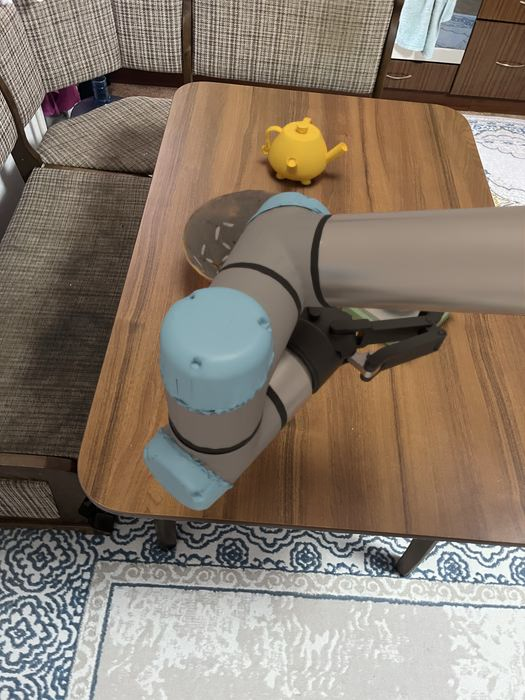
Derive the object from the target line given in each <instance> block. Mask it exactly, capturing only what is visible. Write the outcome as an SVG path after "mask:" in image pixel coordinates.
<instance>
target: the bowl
mask: <svg viewBox="0 0 525 700" xmlns="http://www.w3.org/2000/svg"><path fill="white" fill-rule="evenodd" d="M280 193H281V192H277V191H271V190H264V189H245V190H244V189H243V190H239V191H235V192H234V191H232V192H229V193H225V194H224V193H223V194H221V195H218V196H215V197H213V198H211V199H210V200H208V201H206V202H204V203H203V204H202V205H200V206H199V207H198V208H196V209H195V210H194V211H193V212H192V213H191V214H190V216H189V217H188V219H187V220H186V222H185V223H184V228H183V232H182V237H181V243H182V244H181V247H182V250H183V252H184V255H185V258H186V261H187V262H188V263H189V265H190V266H191V267H192V268H193V269H194V271H196V272H197V274H199V275H200V276H201V277H202V278H203V279H205V280H206V281H207V282H209V283H210V284H211V283H212V281H213V280H214V278H215V277H216V275H217V274H218V272H219V271H220V269H221V268H222V266H223V264H224V263H225V261H226V259H227V258H228V256H229V255H230V253H231V251H232V250H233V248H234V246H235V245H236V243H237V241H238V240H239V238H240V236H241V233H242V231H243V230H244V228H245V226H246V224H247V223H248V221H249V220H250V219H251V218H252V217H253V216H254V215H255V214H256V213H257V212H258V210H259V209H260V208H261V206H262V205H263V204H264V203H265V202H266V201H267V200H268V199H269V198H271V197H273V196H275V195H277V194H280Z"/></svg>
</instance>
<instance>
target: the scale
mask: <svg viewBox="0 0 525 700" xmlns="http://www.w3.org/2000/svg"><path fill="white" fill-rule="evenodd" d="M341 310H342V311H344V312H347V313H348V314H350V315H352V319H353V320H357V319H369V321H377V320H387V319H397V318H406V317H416V316H418V314H419V312H420V311H412V310H409V311H405V312H399V311H394V310H390V309H369V308H348V307H341ZM451 313H452V312H445V313H444V315H443V316H442V318H441V319H440V320H439V321H438V323H437V324H436V326H437V327H438V328H440V326H441V325H442V324H443V323H444V322H445V321H447V320H448V318H449V317H450V315H451ZM398 342H400V341H398ZM394 343H397V342H389V343H385V344H386V346H388V345H391V344H394Z"/></svg>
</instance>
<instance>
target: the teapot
mask: <svg viewBox="0 0 525 700" xmlns="http://www.w3.org/2000/svg"><path fill="white" fill-rule="evenodd" d="M271 132H276V133H277V135H276V136H275V137H274V139H273V141H272V142H271V138H270V135H271V134H270V133H271ZM347 151H348V146H347V144H346V143H345V142H343V141H341V142H340V143H338V144H337V145H336V146H334V147H333V148H332V149H330V150H329V151H328V148H327V144H326V141H325V139H324V137H323V134H322V132H321V131H320V129H319V128H318V127H317V126H315V125H314V124H313V120H312V118H310V117H307V116H305V117H304V118H303V120H300V121H299V120H298V121H293V122H289V123H287V124H286V125H285V126H284V127H281V126H279V125H270V126H269V127H268V128H267V129H266V131H265V144H263V145H262V146H261V153H262V154H263V155H265V156H268V161H269V164H270V166H271V167H272V169H273V170H274V171H275V172H276V174H275V176H276V178H277V179H278V180H284V179H288V180H291V181H297V182H299V181H300V183H301V184H302V185H306V186H308V185H310V184H312V182H311V181H312V179H314V178H316V177H317V176H319V175H321V174H322V173H323V172H325V171H324V170H325V169H326V168H327V167H328V164H330V163H331V162H333V161H334V160H335V159H337V158H338V157H340V156H341V155H343V154H345V153H346V152H347Z"/></svg>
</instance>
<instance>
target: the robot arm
mask: <svg viewBox="0 0 525 700" xmlns="http://www.w3.org/2000/svg"><path fill="white" fill-rule="evenodd" d="M279 193H280V194H277V195H275V196H273V197H271V198H269V199H268V200H267V201H266V202H265V203H264V204H263V205H262V206H261V208H260V209H259V210H258V212H257V213H256V214H255V215H254V216H253V217H252V218H251V219H250V220H249V221H248V223H247V224H246V226H245V228H244V230H243V231H242V233H241V236H240V238H239V240H238V241H237V243H236V245H235V246H234V248H233V250H232V251H231V253H230V255H229V256H228V258H227V259H226V261H225V263H224V264H223V266H222V268H221V269H220V271H219V272H218V274H217V275H216V277H215V278H214V280H213V281H212V283H211V282H210V284H209V286H208V287H203V288H199V289H196V290H194V291H193V292H192V293H190V294H189V295H187V296H185V297H184V298H182V299H178V300H177V301H175V302H174V303H173V304H172V305H171V306H170V308H169V309H168V310H167V312H166V313H165V315H164V317H163V319H162V322H161V325H160V330H159V358H158V364H159V373H160V378H161V380H162V383H163V389H164V394H165V400H166V405H167V417H168V419H167V420H168V422H167V423H166V424H165V425H164V426H163V427H159V428H158V429H157V431H156V434H154V435H153V436H152V438H151V439H150V440H149V441H148V442H147V443H146V445H145V447H144V448H143V451H142V457H143V461H144V464H145V466H146V468H147V470H148V471H149V472H150V474H151V475H152V476H153V478H154V479H155V480H156V481H157V482H158V484H159V485H160V486H161V487H162V488H163V489H164V490H165V491H166V492H167V493H168V494H169V495H171V497H173V499H175V500H176V501H177V502H179V503H180V504H182V505H183V506H185V507H186V508H188V509H190V510H193V511H204V510H207V509H209V508H210V507H211V506H213V504H214V503H216V502H217V500H219V498H221V497H222V496H223V495H224V494H225V493H226V492H228V490H231V489H232V488H233V487H234V486H235V484H234V483H235V482H236V481H237V480H238V479H239V477H241V476H242V474H243V473H244V472H245V471H246V470H247V469H248V468H249V466H250V465H251V464H253V462H254V461H255V460H256V459H257V458H258V456H260V454H261V453H263V452H264V450H265V449H266V448H267V446H268V445H269V444H270V443H271V442H272V441H273V440H274V439H275V438H276V437H277V435H279V434H280V432H281V431H282V430H283V429H284V428H285V426H286V425H287V424H288V423H289V422H290V421H291V420H292V419H293V418H294V417H295V416H296V415H297V414H298V413H299V411H301V409H302V408H303V407H304V406H305V405H306V404H307V403H308V402H309V401H310V399H311V398H312V396H313V395H315V394H316V393H317V392H318V391H319V390H320V389H321V388H322V387H323V386H324V385H325V384H326V382H328V381H329V379H330V378H331V377H332V376H333V375H334V374H335V372H336V371H337V370H338V369H339V368H340V367H342V366H343V365H347V364H350V365H351V366H352V367H354V368H355V369H356V370H357V371H359V379H360V380H361V381H362V382H364V383H369V382H371V381H372V380H373V379H374V378H376V376H378V375H379V374H380V373H381V372H383V371H386V370H389V369H392V368H395V367H397V366H400V365H402V364H405V363H408V362H412V361H414V360H417V359H419V358H422V357H425V356H427V355H430V354H433V353H436V352H438V351H439V350H440V348H441V347H442V344H444V341H445V339H446V338H447V336H448V332H447V331H446V330H445V329H444V328H441V327H437V326H436V324H437V323H438V321H439V320H440V319H441V318H442V316H443V315H444V313H445V312H451V313H453V314H454V313H455V314H478V315H479V314H480V315H500V316H519V317H520V316H522V317H525V205H505V206H482V207H481V206H480V207H463V208H462V207H461V208H460V207H459V208H457V207H456V208H437V209H435V208H434V209H416V210H415V209H413V210H396V211H395V210H393V211H373V212H371V211H369V212H348V213H333V214H331V212H330V210H328V208H327V207H326V206H325V205H324V204H323V203H322V202H321V201H320V200H318V199H316V198H315V197H309V196H307V195H304V194H302V193H301V192H297V191H284V192H279ZM342 307H348V308H369V309H390V310H412V311H420V312H419V314H418V316H416V317H406V318H397V319H387V320H377V321H369V319H357V320H353V319H352V315H350V314H348V313H347V312H344V311H342V309H340V308H342ZM398 341H400V342H398ZM389 342H397V343H394V344H391V345H385V346H383V347H381V348H379V349H377V350H376V351H374V350H372V349H371V350H368V351H366V352H364V353H360V352H358V349H364V348H366V347H367V346H370V345H371V346H372V345H380V344H386V343H389Z"/></svg>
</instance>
